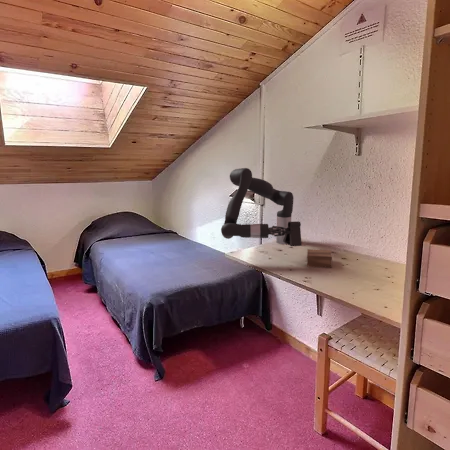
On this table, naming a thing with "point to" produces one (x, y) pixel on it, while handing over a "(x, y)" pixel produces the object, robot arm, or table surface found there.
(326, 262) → the walnut block
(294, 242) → the phone stand
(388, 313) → the table surface
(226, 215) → the robot arm
